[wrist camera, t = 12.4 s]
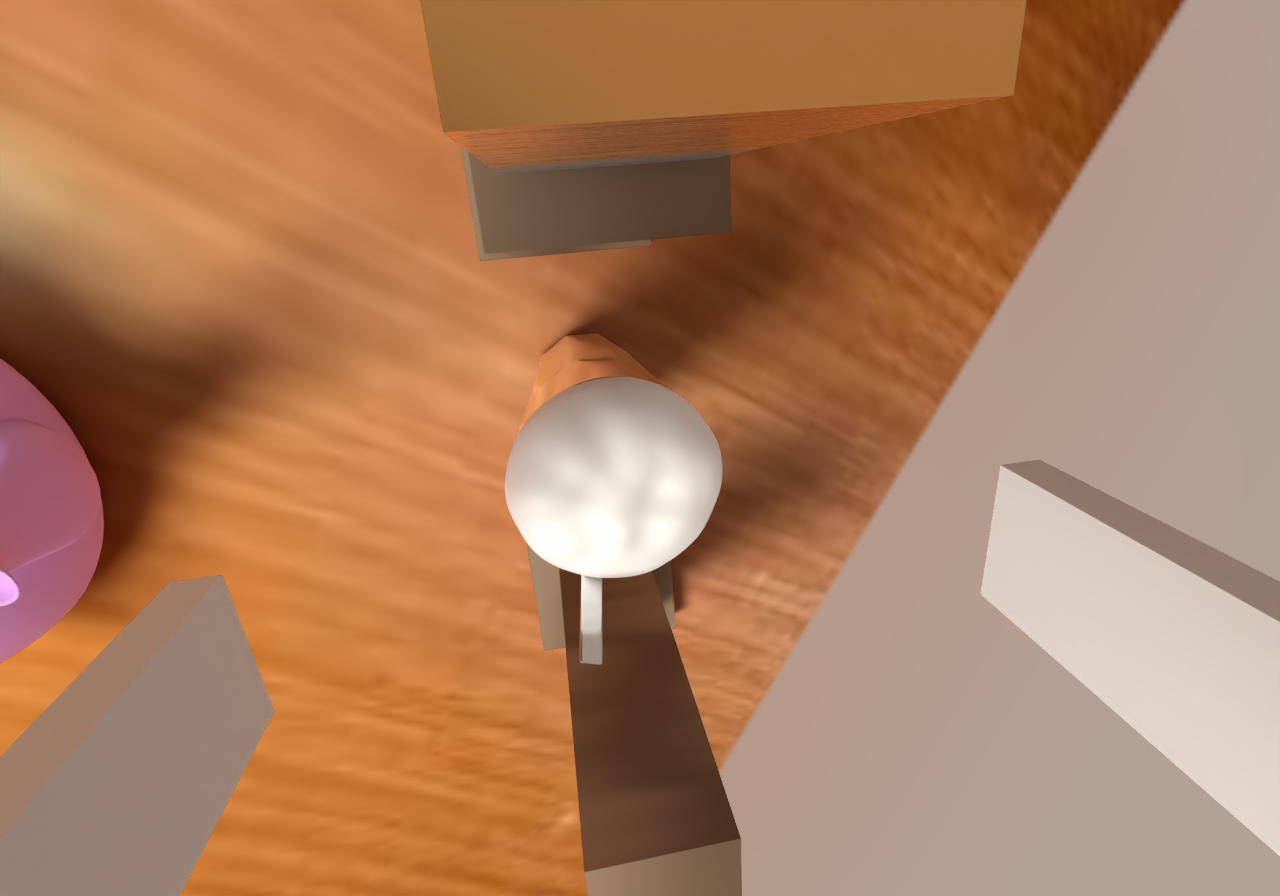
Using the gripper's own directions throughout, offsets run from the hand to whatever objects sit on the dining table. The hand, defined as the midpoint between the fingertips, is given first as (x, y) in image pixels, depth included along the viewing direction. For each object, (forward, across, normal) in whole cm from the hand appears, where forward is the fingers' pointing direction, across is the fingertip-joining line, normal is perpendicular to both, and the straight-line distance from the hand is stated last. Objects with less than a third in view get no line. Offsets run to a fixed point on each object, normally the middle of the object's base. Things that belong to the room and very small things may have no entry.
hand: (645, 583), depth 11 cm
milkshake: (+11, 0, 0) cm, 11 cm away
